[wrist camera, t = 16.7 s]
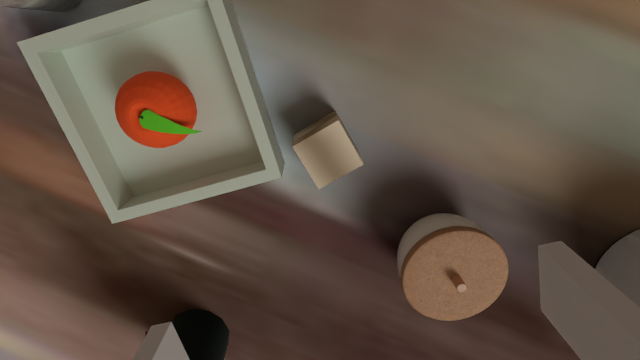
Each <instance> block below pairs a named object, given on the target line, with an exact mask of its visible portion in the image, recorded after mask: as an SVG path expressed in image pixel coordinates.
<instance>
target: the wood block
mask: <svg viewBox="0 0 640 360" xmlns="http://www.w3.org/2000/svg"><path fill="white" fill-rule="evenodd" d="M292 147H293V149H294V150H295V152H296V153H297V155H298V157H299V158H300V160H301V161H302V163H303V165H304V166H305V168H306V169H307V171H308V172H309V174H310V176H311V177H312V179H313V180H314V182H315V184H316V185H317V187H318V188H319V189H320V188H322V187H324V186H325V185H327V184H329V183H331V182H333V181H335V180H336V179H338V178H340V177H342V176H344V175H346V174H347V173H349V172H351V171H353V170H355V169H356V168H358V167H360V166H362V165H364V164H363V162H362V159H361V157H360V154H359V152H358V150H357V148H356V146H355V145H354V143H353V141H352V139H351V138H350V136H349V134H348V132H347V130H346V129H345V127H344V125H343V123H342V122H341V120H340V118H339V116H338V115H337V113H336V111H334V112H332V113H330V114H328V115H327V116H325V117H323V118H322V119H320V120H318V121H316V122H315V123H313V124H311V125H310V126H308V127H306V128H304V129H303V130H301V131H299V132H297V133H296V134H294V139H293V146H292Z"/></svg>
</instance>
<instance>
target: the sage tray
mask: <svg viewBox="0 0 640 360" xmlns="http://www.w3.org/2000/svg"><path fill="white" fill-rule="evenodd" d="M17 44H18V46H19V48H20V50H21V51H22V53H23V55H24V57H25V59H26V61H27V63H28V65H29V67H30V69H31V70H32V72H33V74H34V76H35V78H36V80H37V82H38V84H39V86H40V88H41V89H42V91H43V93H44V95H45V97H46V99H47V101H48V103H49V105H50V107H51V108H52V110H53V112H54V114H55V116H56V118H57V120H58V122H59V124H60V125H61V127H62V129H63V131H64V133H65V135H66V137H67V139H68V141H69V143H70V144H71V146H72V148H73V150H74V152H75V154H76V156H77V158H78V160H79V162H80V163H81V165H82V167H83V169H84V171H85V173H86V175H87V177H88V179H89V181H90V182H91V184H92V186H93V188H94V190H95V192H96V194H97V196H98V198H99V200H100V201H101V203H102V205H103V207H104V209H105V211H106V213H107V215H108V217H109V219H110V220H111V222H112V224H113V223H117V222H121V221H124V220H128V219H132V218H135V217H139V216H143V215H146V214H150V213H154V212H157V211H161V210H165V209H168V208H172V207H176V206H179V205H183V204H187V203H190V202H194V201H198V200H201V199H205V198H208V197H212V196H216V195H219V194H223V193H227V192H230V191H234V190H238V189H241V188H245V187H249V186H252V185H256V184H260V183H263V182H267V181H271V180H274V179H278V178H282V174H283V169H284V164H285V163H284V160H283V157H282V154H281V151H280V148H279V145H278V142H277V139H276V136H275V133H274V130H273V127H272V124H271V121H270V118H269V114H268V111H267V108H266V105H265V102H264V99H263V96H262V93H261V90H260V87H259V84H258V81H257V78H256V75H255V72H254V69H253V66H252V63H251V60H250V57H249V54H248V51H247V48H246V45H245V42H244V38H243V35H242V32H241V29H240V26H239V23H238V20H237V17H236V14H235V11H234V8H233V5H232V2H231V0H149V1H146V2H143V3H140V4H136V5H133V6H130V7H127V8H124V9H121V10H118V11H114V12H111V13H108V14H105V15H102V16H99V17H95V18H92V19H89V20H86V21H83V22H80V23H77V24H73V25H70V26H67V27H64V28H61V29H58V30H54V31H51V32H48V33H45V34H42V35H39V36H35V37H32V38H29V39H26V40H23V41H20V42H17ZM146 71H158V72H163V73H167V74H171V75H172V76H174V77H176V78H178V79H180V80H181V81H182V82H183V83H184V84H185V85H186V86H187V87H188V88H189V90H190V91H191V93H192V94H193V97H194V99H195V102H196V107H197V117H196V122H195V125H194V127H193V130H198V131H202V132H198V133H194V134H189V135H188V136H187V137H186V138H185V139H184V140H182V141H181V142H179V143H178V144H175V145H173V146H169V147H165V148H152V147H148V146H144V145H142V144H140V143H138V142H136V141H134V140H132V139H131V138H130V137H129V136H127V135H126V134H125V132H124V131H123V130H122V129H121V127H120V125H119V123H118V121H117V119H116V114H115V100H116V96H117V94H118V91H119V89H120V87H121V86H122V85H123V84H124V83H125V81H127V80H128V79H130V78H131V77H133V76H135V75H136V74H139V73H142V72H146Z"/></svg>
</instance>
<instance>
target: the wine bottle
mask: <svg viewBox="0 0 640 360" xmlns="http://www.w3.org/2000/svg"><path fill="white" fill-rule="evenodd" d="M172 324H173V326H174V328H175V330H176V332H177V334H178V336H179V339H180V341H181V343H182V345H183V347H184V349H185V351H186V353H187V355H188V357H189V359H190V360H224V356H225V353H226V349H227V346H228V339H229V330H228V328H227V326H226V325H225V323H224V322H223V320H222V319H221V318H219V317H218V316H216V315H214V314H212V313H211V312H209V311H202V310H189V311H186V312H183V313H181V314H178V315H177V316H176V317H175V318H174V320H173V321H172ZM147 333H148V332H147V331H146V335H147ZM145 337H146V336H145Z"/></svg>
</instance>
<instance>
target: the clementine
mask: <svg viewBox="0 0 640 360" xmlns="http://www.w3.org/2000/svg"><path fill="white" fill-rule="evenodd" d="M115 114H116V119H117V121H118V123H119V125H120V127H121V129H122V130H123V131H124V132H125V134H126V135H127V136H129V137H130V138H131V139H132V140H134V141H136V142H138V143H140V144H142V145H144V146H148V147H152V148H165V147H169V146H173V145H175V144H178V143H179V142H181V141H182V140H184V139H185V138H186V137H187V136H188V135H189V134H194V133H198V132H202V131H198V130H193V127H194V125H195V122H196V117H197V107H196V102H195V99H194V97H193V94H192V93H191V91H190V90H189V88H188V87H187V86H186V85H185V84H184V83H183V82H182V81H181V80H180V79H178V78H176V77H174V76H172V75H171V74H167V73H163V72H158V71H146V72H142V73H139V74H136V75H135V76H133V77H131V78H130V79H128V80H127V81H125V83H124V84H123V85H122V86H121V87H120V89H119V91H118V94H117V96H116V100H115Z"/></svg>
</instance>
